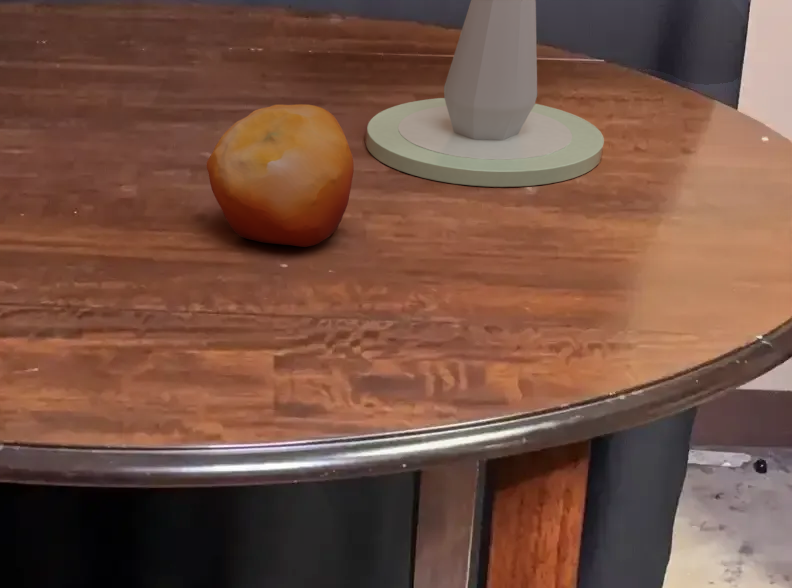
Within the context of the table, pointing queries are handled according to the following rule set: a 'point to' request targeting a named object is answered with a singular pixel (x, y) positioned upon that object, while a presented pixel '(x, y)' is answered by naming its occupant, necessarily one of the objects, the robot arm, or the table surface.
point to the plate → (484, 147)
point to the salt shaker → (493, 70)
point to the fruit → (283, 175)
